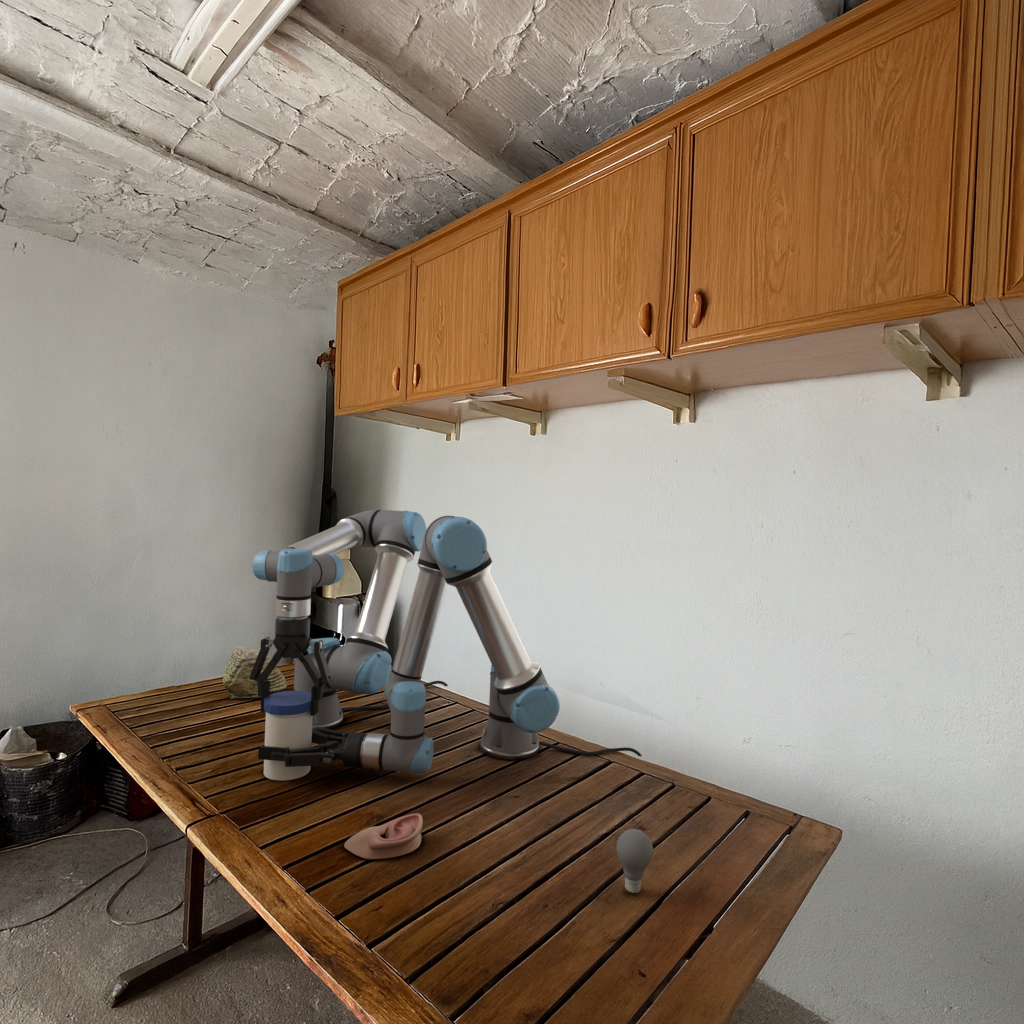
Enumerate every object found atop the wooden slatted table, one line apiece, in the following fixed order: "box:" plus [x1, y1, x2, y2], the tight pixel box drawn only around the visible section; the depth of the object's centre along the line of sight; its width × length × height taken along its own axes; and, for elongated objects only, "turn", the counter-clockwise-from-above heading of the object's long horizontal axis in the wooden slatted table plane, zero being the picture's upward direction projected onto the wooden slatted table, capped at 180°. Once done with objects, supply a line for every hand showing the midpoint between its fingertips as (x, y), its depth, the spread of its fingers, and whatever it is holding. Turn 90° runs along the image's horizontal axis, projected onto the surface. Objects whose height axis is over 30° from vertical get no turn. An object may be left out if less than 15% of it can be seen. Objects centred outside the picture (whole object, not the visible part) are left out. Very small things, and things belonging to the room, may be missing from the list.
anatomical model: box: [343, 813, 424, 860], centre depth 117 cm, size 13×4×12 cm
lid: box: [264, 690, 311, 715], centre depth 145 cm, size 11×11×2 cm
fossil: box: [222, 646, 288, 699], centre depth 198 cm, size 9×18×15 cm, turn 132°
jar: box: [263, 710, 313, 782], centre depth 145 cm, size 10×10×16 cm
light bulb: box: [615, 828, 654, 894], centre depth 106 cm, size 6×6×10 cm
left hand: (289, 712), depth 145 cm, fingers closed on lid, 11 cm apart
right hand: (270, 743), depth 146 cm, fingers closed on jar, 10 cm apart
